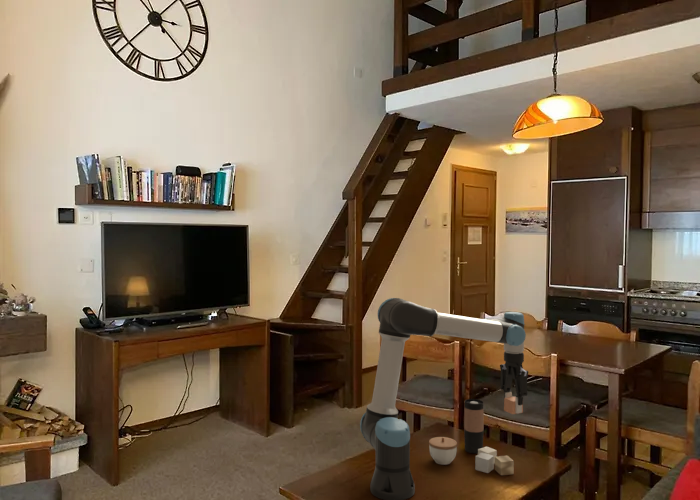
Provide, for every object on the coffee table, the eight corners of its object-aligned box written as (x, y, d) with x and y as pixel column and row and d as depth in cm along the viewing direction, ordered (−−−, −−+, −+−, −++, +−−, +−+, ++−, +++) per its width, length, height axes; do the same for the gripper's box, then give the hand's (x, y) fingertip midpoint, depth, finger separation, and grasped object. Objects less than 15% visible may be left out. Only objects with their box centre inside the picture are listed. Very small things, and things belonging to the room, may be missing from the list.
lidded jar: (455, 456, 217) (455, 433, 217) (458, 467, 206) (458, 443, 206) (428, 455, 218) (428, 432, 218) (429, 466, 207) (429, 442, 207)
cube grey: (487, 473, 202) (487, 459, 202) (475, 469, 205) (475, 456, 205) (493, 468, 205) (493, 455, 205) (481, 465, 209) (481, 452, 209)
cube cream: (488, 466, 208) (488, 453, 208) (477, 462, 212) (477, 449, 212) (496, 463, 211) (496, 450, 211) (486, 458, 215) (486, 446, 215)
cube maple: (500, 475, 200) (501, 461, 200) (494, 469, 205) (494, 456, 205) (513, 474, 201) (513, 460, 201) (507, 468, 206) (507, 455, 206)
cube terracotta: (512, 414, 212) (512, 401, 212) (504, 410, 216) (504, 398, 216) (522, 412, 214) (523, 399, 214) (514, 408, 219) (514, 396, 218)
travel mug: (460, 448, 225) (460, 400, 225) (475, 445, 229) (475, 397, 228) (471, 455, 218) (472, 405, 218) (487, 451, 222) (487, 402, 221)
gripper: (538, 355, 208) (537, 416, 209) (505, 346, 224) (505, 403, 225) (523, 357, 205) (522, 418, 205) (491, 348, 221) (490, 405, 222)
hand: (513, 410), depth 215 cm, fingers closed on cube terracotta, 5 cm apart
